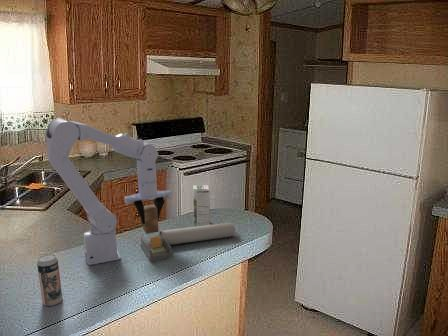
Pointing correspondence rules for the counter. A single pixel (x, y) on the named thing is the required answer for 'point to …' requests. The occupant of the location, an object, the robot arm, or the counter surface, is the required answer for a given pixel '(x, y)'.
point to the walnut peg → (150, 219)
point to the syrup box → (201, 205)
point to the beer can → (49, 280)
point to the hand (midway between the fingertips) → (150, 221)
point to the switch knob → (155, 242)
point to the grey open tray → (156, 250)
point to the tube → (198, 233)
